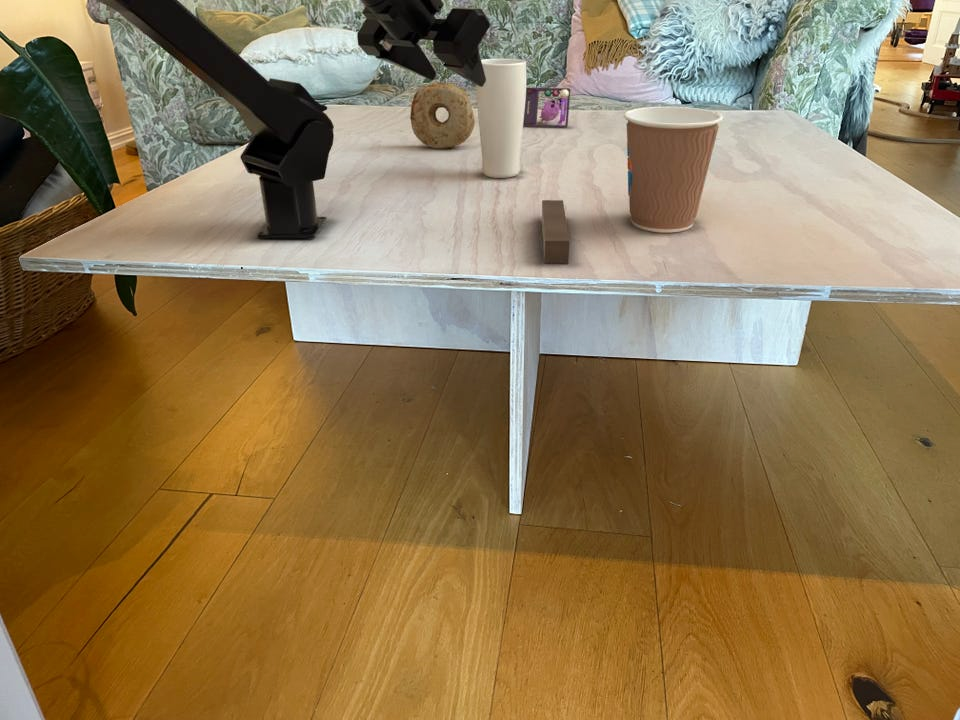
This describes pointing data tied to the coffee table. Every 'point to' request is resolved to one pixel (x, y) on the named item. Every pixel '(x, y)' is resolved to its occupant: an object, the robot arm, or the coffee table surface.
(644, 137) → the coffee cup
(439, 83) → the bagel
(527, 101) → the purple printed box
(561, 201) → the baton
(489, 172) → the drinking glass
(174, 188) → the coffee table surface
